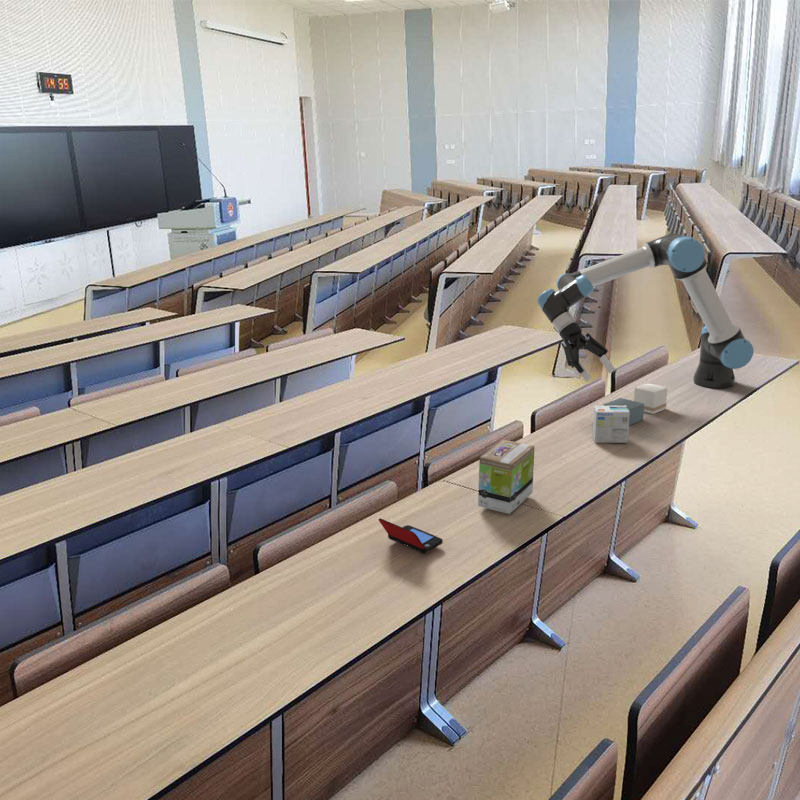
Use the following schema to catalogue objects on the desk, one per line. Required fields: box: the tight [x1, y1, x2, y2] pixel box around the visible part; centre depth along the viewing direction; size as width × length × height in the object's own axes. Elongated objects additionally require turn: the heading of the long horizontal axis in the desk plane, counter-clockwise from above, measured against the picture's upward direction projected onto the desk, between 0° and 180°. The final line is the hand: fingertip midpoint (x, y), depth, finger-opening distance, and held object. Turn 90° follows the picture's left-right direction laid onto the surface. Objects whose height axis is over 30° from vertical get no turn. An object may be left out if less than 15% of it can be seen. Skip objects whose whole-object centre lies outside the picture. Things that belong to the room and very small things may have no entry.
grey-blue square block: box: [602, 397, 645, 426], centre depth 270 cm, size 10×10×6 cm
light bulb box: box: [592, 405, 630, 444], centre depth 252 cm, size 11×7×11 cm, turn 84°
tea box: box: [477, 439, 535, 515], centre depth 211 cm, size 15×10×15 cm
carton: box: [633, 382, 668, 415], centre depth 279 cm, size 8×8×8 cm
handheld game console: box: [378, 518, 443, 555], centre depth 192 cm, size 12×11×7 cm
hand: (600, 375), depth 273 cm, fingers open, 13 cm apart
